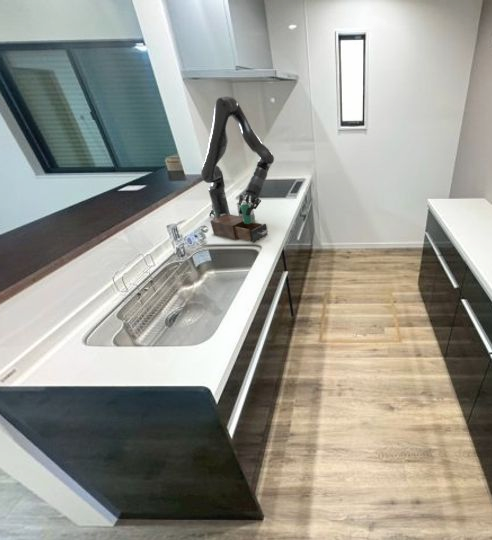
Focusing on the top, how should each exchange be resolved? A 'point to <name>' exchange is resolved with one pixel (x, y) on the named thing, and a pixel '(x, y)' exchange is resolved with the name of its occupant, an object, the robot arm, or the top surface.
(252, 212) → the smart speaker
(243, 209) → the soap bottle
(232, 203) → the top surface
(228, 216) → the cabinet
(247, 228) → the drawer
